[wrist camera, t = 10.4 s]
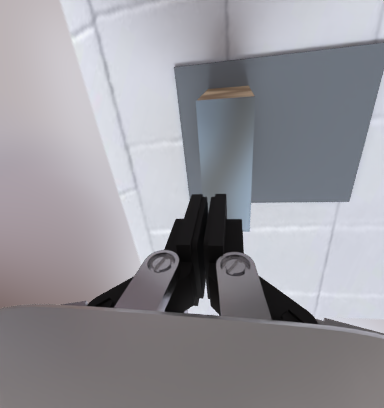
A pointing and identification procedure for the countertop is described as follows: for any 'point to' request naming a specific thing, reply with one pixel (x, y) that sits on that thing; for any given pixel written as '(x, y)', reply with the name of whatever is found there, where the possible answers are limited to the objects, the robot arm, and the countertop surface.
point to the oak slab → (227, 147)
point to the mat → (293, 119)
